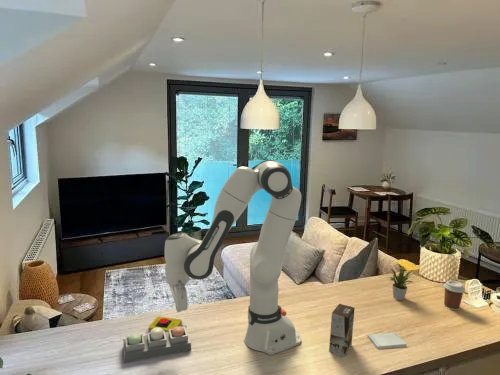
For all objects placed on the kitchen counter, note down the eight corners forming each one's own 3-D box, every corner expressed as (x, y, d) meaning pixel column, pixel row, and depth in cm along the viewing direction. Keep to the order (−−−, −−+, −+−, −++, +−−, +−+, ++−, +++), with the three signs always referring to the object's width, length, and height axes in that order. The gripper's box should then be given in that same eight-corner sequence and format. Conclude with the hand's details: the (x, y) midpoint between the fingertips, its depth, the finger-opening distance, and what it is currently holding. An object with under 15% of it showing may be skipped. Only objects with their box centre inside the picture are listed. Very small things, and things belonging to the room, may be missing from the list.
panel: (186, 335, 148) (186, 323, 147) (191, 349, 139) (191, 337, 138) (123, 346, 140) (122, 334, 139) (124, 362, 131) (123, 350, 130)
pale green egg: (140, 340, 139) (140, 332, 138) (141, 346, 135) (141, 339, 134) (128, 342, 138) (128, 334, 137) (128, 349, 133) (128, 341, 133)
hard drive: (395, 332, 152) (367, 334, 150) (406, 344, 144) (377, 346, 142) (394, 335, 153) (367, 337, 150) (406, 347, 145) (377, 350, 143)
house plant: (421, 306, 176) (424, 274, 173) (392, 305, 176) (395, 273, 173) (408, 292, 190) (412, 262, 187) (382, 291, 190) (384, 262, 187)
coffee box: (345, 357, 137) (348, 317, 134) (328, 351, 140) (331, 312, 137) (352, 345, 144) (355, 307, 142) (336, 339, 148) (339, 302, 145)
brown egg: (182, 332, 145) (182, 325, 144) (184, 338, 140) (184, 331, 140) (171, 334, 143) (171, 327, 142) (173, 340, 139) (173, 333, 138)
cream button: (162, 333, 142) (161, 326, 141) (163, 340, 138) (163, 332, 137) (150, 335, 140) (150, 328, 140) (151, 342, 136) (151, 335, 135)
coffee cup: (465, 307, 176) (468, 284, 174) (457, 313, 170) (461, 289, 168) (445, 300, 183) (448, 277, 181) (437, 306, 177) (440, 282, 175)
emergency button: (154, 312, 157) (187, 317, 154) (154, 322, 158) (187, 326, 155) (143, 324, 148) (178, 329, 145) (144, 334, 149) (178, 339, 146)
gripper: (191, 286, 129) (192, 322, 131) (181, 264, 147) (182, 296, 150) (173, 289, 126) (174, 325, 129) (165, 266, 145) (166, 299, 148)
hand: (178, 310), depth 140 cm, fingers closed
